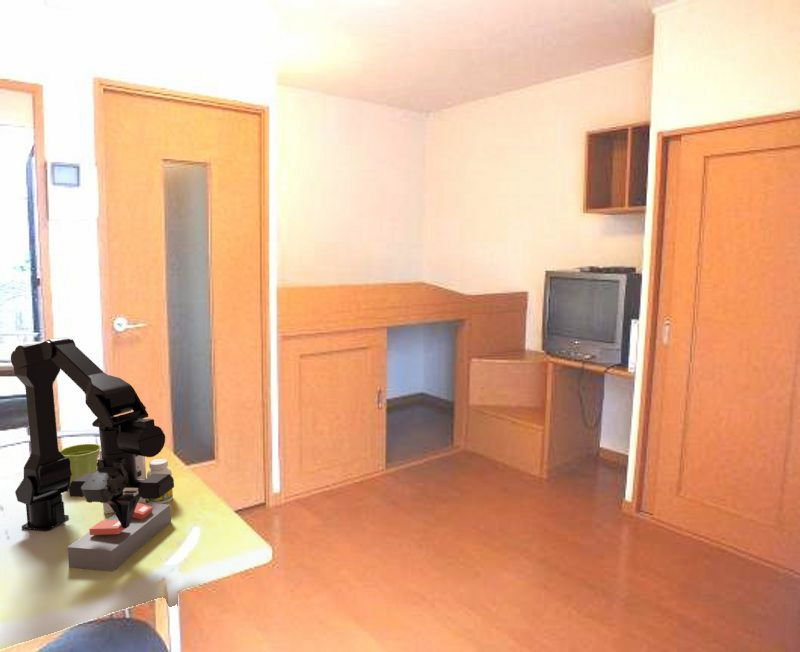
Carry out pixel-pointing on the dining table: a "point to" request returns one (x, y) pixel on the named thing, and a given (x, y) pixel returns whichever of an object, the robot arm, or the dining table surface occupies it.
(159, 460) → the supplement bottle
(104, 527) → the block
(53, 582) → the dining table surface
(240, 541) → the dining table surface
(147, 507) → the rocker back
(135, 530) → the long grey block
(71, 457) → the plant pot
